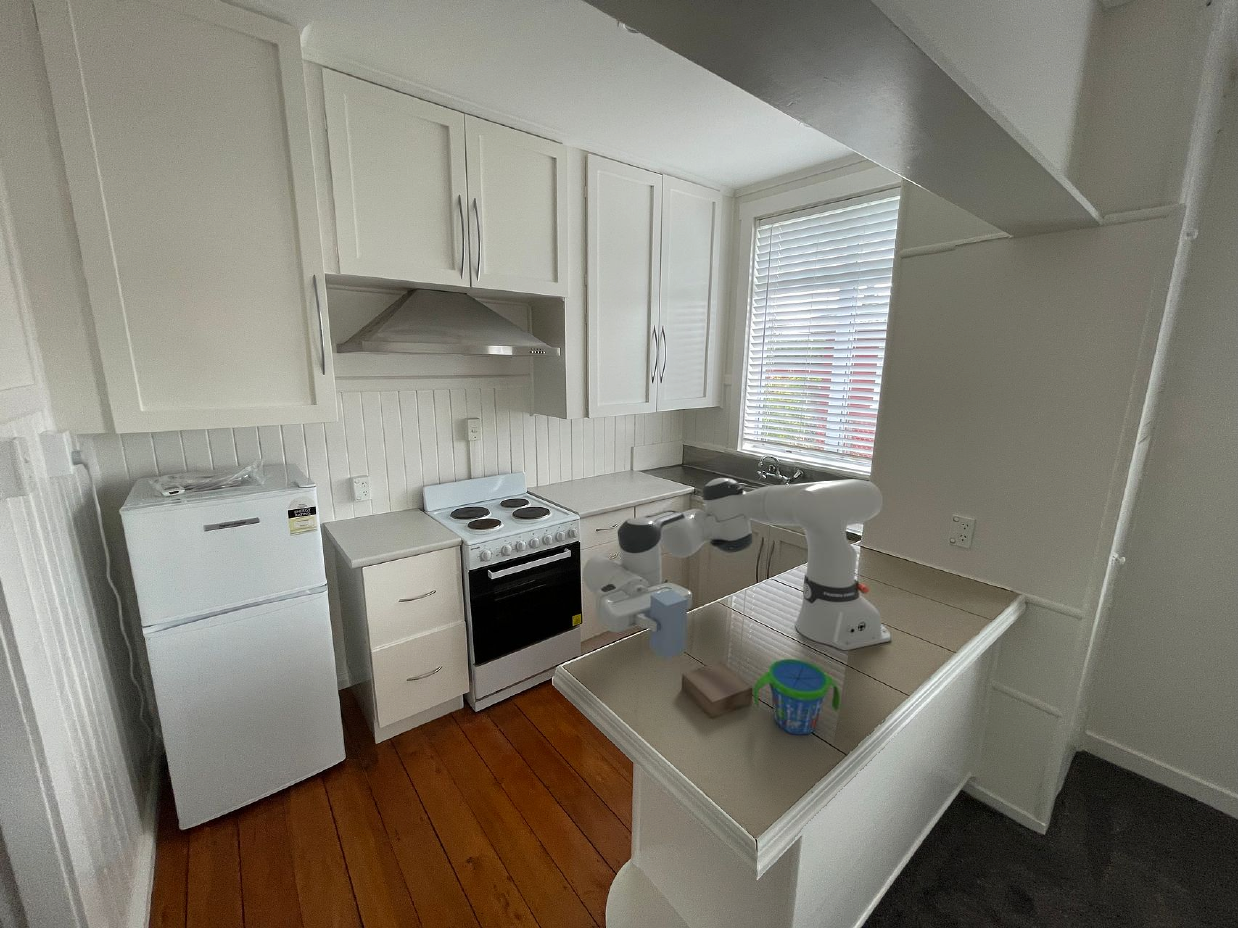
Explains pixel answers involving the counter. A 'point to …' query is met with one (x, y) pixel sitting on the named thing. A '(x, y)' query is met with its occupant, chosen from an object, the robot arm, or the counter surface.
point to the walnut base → (716, 689)
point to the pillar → (669, 623)
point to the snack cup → (797, 694)
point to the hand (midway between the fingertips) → (671, 622)
